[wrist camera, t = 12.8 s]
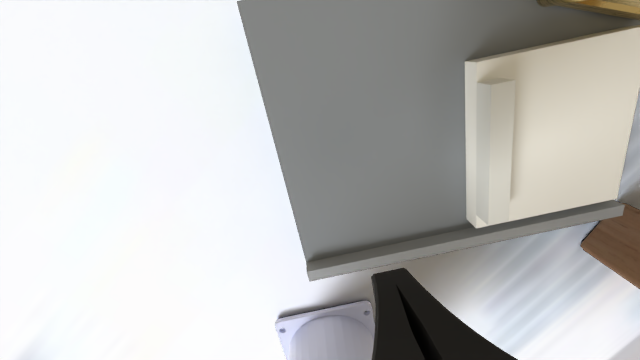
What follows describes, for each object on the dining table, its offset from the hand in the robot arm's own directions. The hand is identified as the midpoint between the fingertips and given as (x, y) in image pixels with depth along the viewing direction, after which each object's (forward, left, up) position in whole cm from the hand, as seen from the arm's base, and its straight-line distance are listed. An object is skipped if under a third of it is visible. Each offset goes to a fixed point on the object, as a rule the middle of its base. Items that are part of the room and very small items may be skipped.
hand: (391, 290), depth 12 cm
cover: (+2, -12, -8) cm, 14 cm away
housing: (+3, -7, -10) cm, 12 cm away
